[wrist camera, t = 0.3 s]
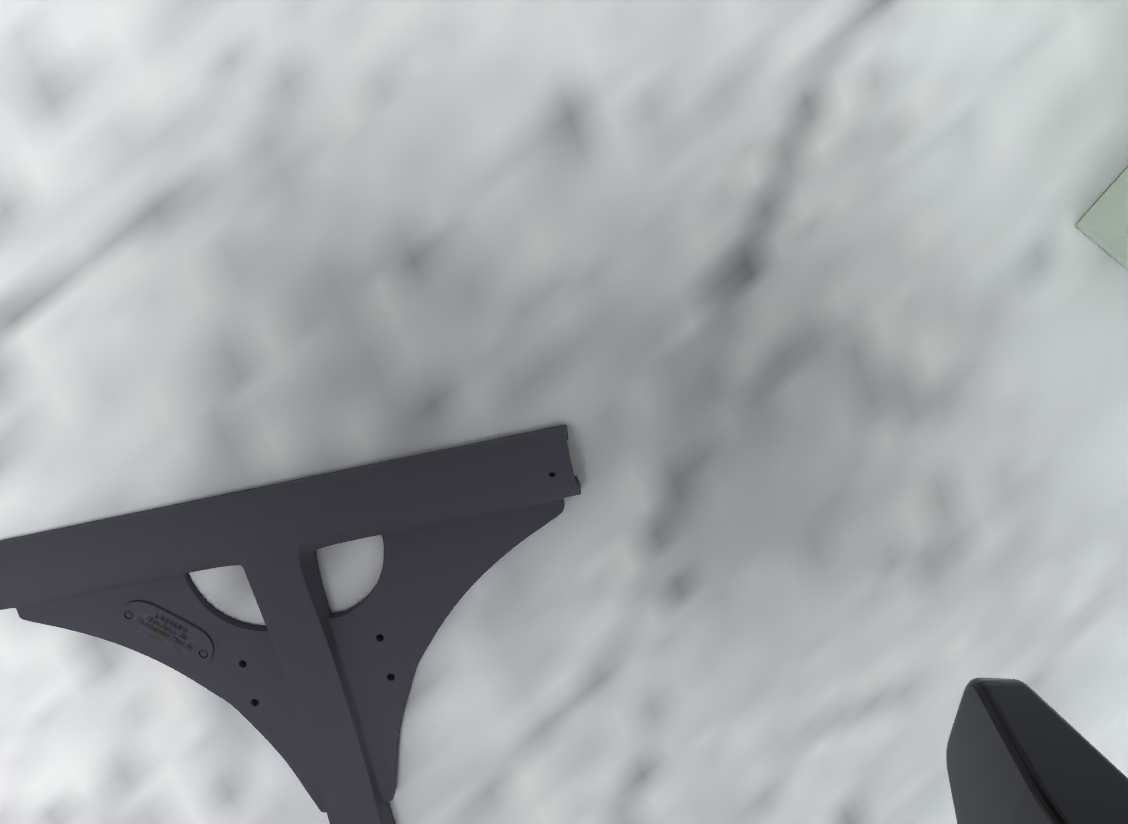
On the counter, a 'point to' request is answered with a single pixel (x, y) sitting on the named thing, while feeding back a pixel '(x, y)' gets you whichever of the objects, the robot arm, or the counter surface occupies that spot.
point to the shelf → (1110, 220)
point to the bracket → (303, 594)
